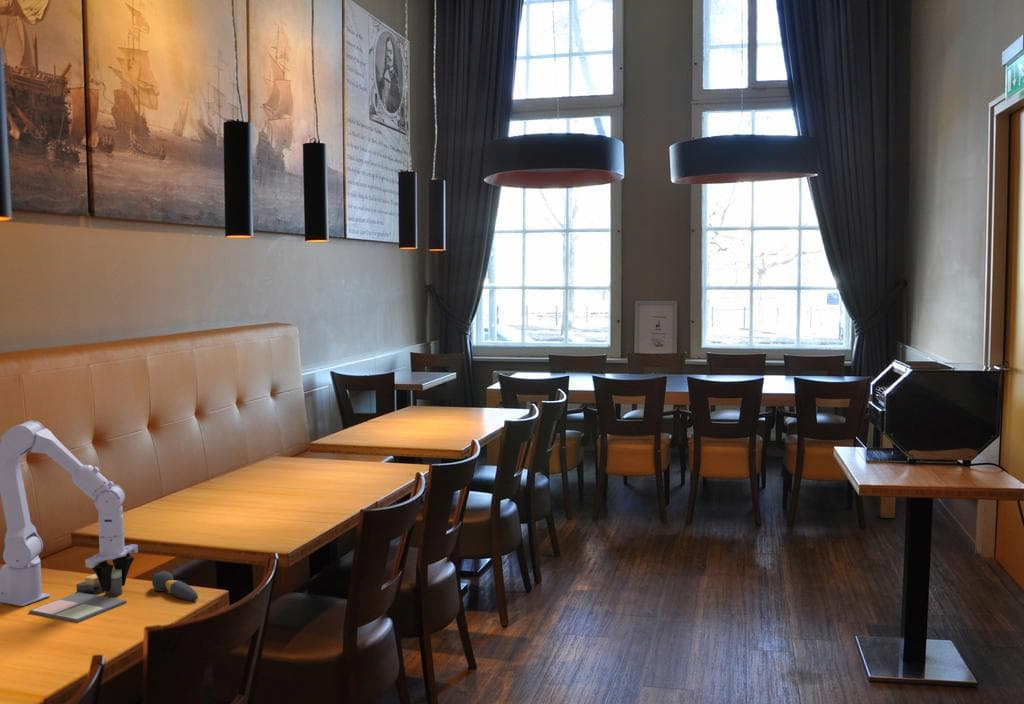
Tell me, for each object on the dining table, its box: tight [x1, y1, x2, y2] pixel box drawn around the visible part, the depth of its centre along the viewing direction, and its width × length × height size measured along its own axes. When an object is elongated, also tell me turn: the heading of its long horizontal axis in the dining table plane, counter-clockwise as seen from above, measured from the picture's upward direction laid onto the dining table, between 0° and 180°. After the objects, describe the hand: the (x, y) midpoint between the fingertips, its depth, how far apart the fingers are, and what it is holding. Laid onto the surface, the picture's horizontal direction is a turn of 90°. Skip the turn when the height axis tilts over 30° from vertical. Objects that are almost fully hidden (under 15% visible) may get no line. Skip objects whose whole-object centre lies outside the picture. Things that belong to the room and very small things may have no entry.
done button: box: [84, 573, 100, 586], centre depth 228 cm, size 3×3×2 cm
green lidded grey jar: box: [104, 568, 123, 598], centre depth 225 cm, size 4×4×6 cm
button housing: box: [75, 581, 105, 595], centre depth 228 cm, size 6×6×2 cm
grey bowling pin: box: [151, 570, 199, 602], centre depth 225 cm, size 20×5×5 cm, turn 57°
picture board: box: [28, 592, 127, 623], centre depth 215 cm, size 16×14×1 cm
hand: (113, 587), depth 225 cm, fingers closed on green lidded grey jar, 4 cm apart
